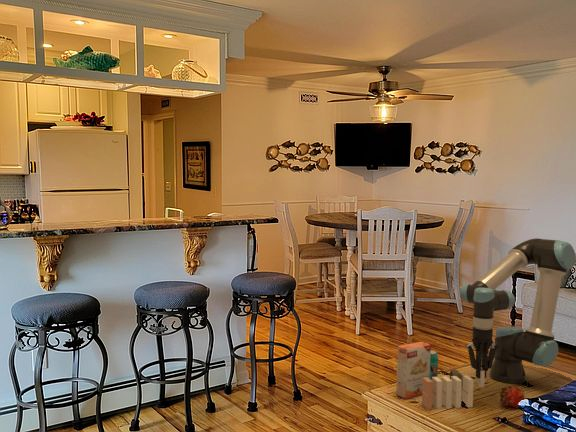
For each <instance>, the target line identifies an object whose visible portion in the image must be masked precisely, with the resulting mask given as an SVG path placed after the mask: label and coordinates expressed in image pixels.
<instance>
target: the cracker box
mask: <svg viewBox="0 0 576 432" xmlns="http://www.w3.org/2000/svg"><path fill="white" fill-rule="evenodd" d="M431 350H432V345H431V344H430V343H426V342H423V341H417V342H411V343H407V344H406V343H405V344H402V345H399V346H397V362H396V363H397V366H396V394H395V395H396V396H398V397H399V398H402V399H404V400H409V399H412V398H415V397H419V396H422V381H423V377H428V378H429V379H430V357H431Z"/></svg>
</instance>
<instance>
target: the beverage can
mask: <svg viewBox="0 0 576 432" xmlns="http://www.w3.org/2000/svg"><path fill="white" fill-rule="evenodd" d="M438 364H439V354H438V352H437V351H436V350H434V349H433V350H432V349H431V357H430V380H431V381H432V377H438V371H439V368H438V367H439V365H438Z"/></svg>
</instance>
